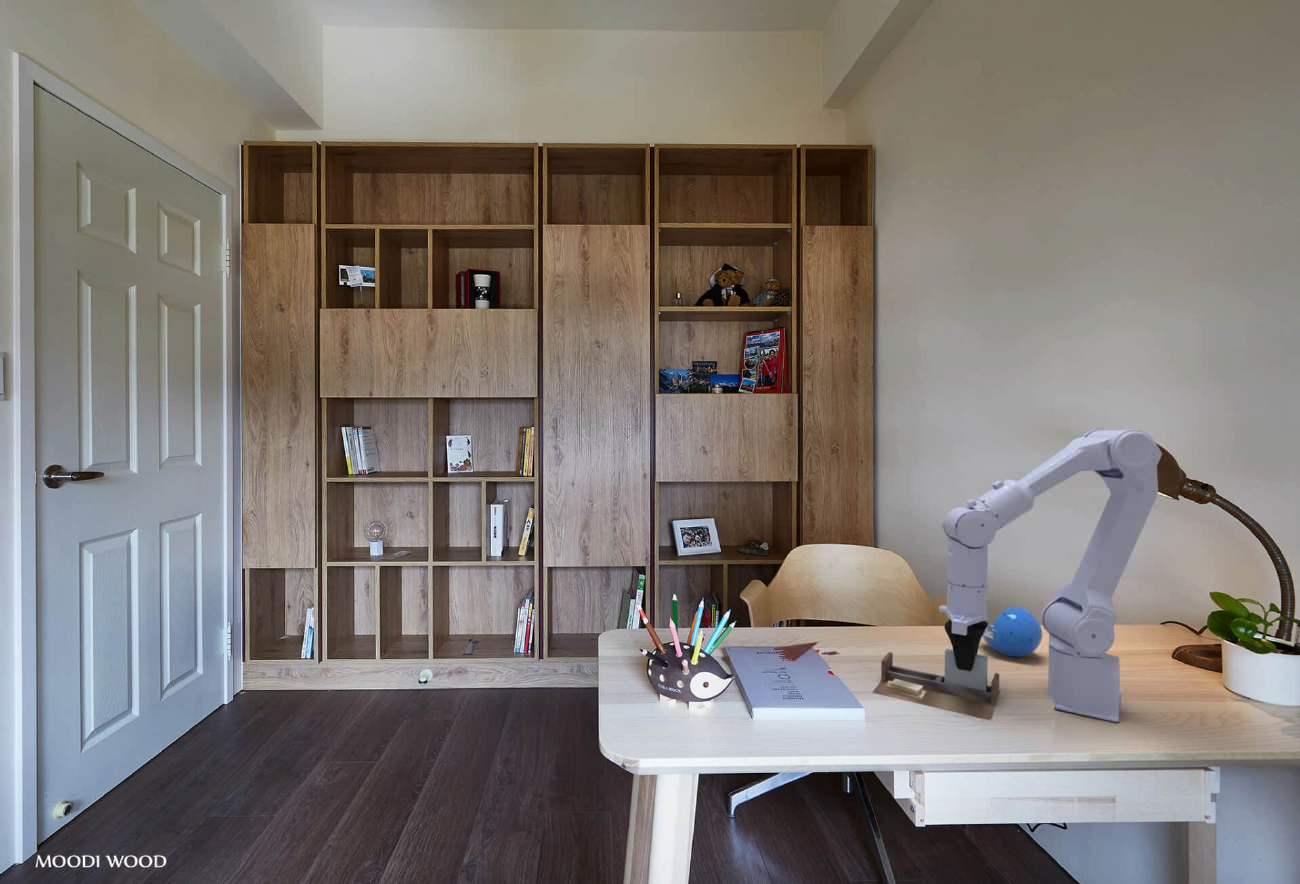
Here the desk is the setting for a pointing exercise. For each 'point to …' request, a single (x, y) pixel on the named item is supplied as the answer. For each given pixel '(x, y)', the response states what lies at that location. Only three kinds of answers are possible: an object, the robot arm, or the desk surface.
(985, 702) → the board with sliding block
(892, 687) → the offcut stack
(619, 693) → the desk surface
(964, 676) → the slate board
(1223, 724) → the desk surface
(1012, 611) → the cell model
